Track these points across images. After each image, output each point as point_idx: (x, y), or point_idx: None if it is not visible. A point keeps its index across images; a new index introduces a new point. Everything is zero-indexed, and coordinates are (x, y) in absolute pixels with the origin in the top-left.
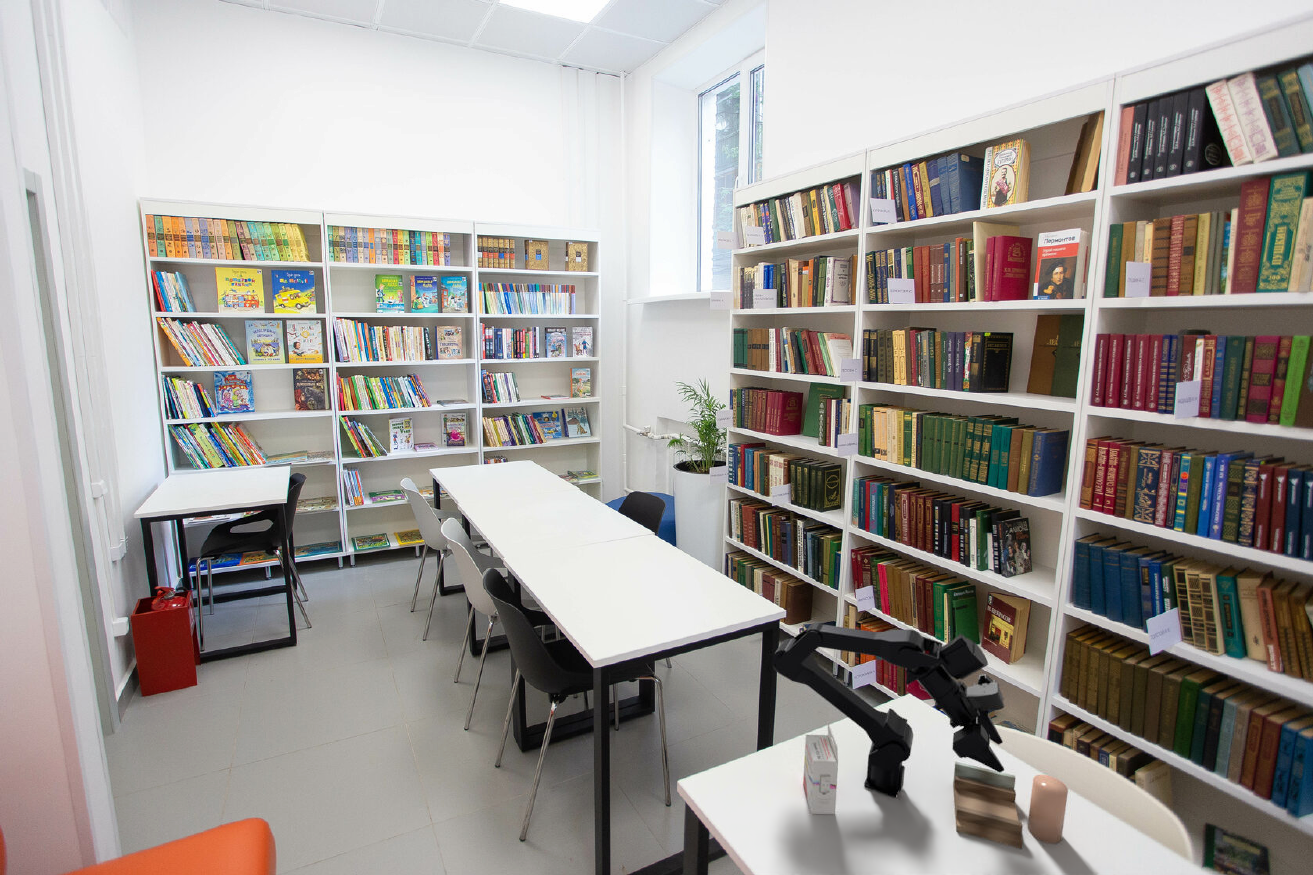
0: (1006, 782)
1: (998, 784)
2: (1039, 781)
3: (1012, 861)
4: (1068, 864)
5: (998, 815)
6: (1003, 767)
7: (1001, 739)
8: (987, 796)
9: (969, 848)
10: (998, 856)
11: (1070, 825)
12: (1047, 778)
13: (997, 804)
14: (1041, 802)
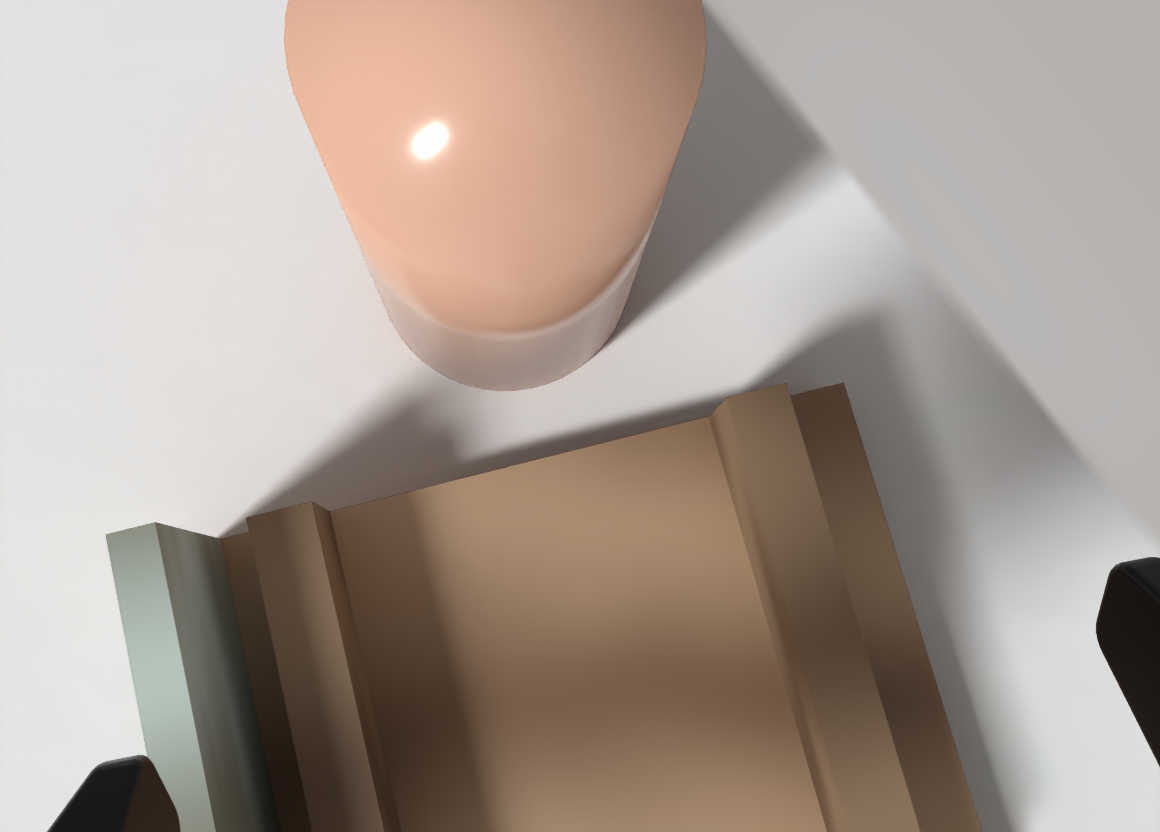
0: (200, 611)
1: (226, 686)
2: (511, 156)
3: (1020, 436)
4: (770, 93)
5: (615, 612)
6: (1139, 577)
7: (102, 793)
8: (389, 753)
9: (1112, 752)
10: (1040, 535)
11: (285, 103)
12: (364, 75)
13: (457, 647)
14: (669, 176)
